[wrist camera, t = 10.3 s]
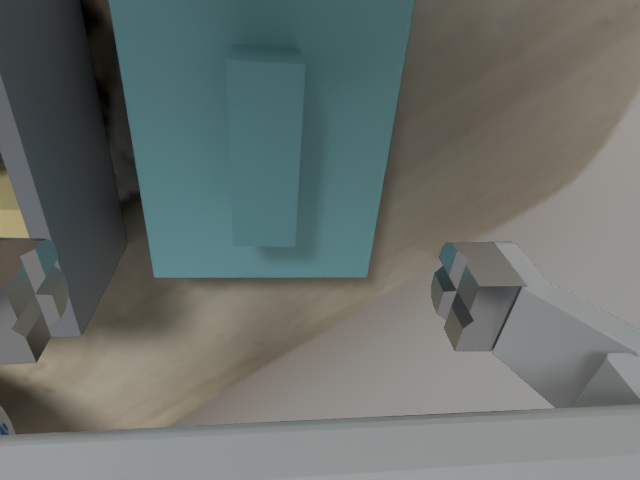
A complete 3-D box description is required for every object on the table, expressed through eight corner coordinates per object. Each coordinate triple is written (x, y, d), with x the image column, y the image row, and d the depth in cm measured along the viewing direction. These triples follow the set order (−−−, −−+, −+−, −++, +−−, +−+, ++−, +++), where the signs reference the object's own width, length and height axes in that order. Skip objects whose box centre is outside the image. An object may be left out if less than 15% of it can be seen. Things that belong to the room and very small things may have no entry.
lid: (117, -92, 15) (51, -118, 11) (405, -62, 17) (459, -72, 12) (165, 247, 23) (139, 319, 19) (357, 248, 25) (379, 316, 20)
